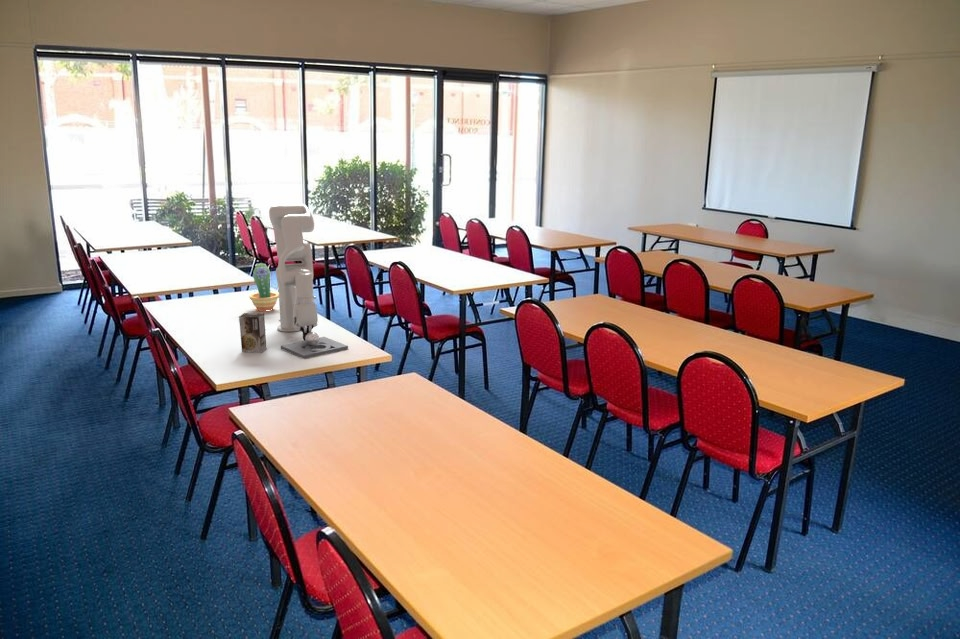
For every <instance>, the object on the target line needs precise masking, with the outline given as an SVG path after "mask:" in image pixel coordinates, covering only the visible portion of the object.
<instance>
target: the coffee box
mask: <svg viewBox="0 0 960 639" xmlns="http://www.w3.org/2000/svg"><path fill="white" fill-rule="evenodd" d="M238 320H239V321H238V322H239V331H240V334H239V335H240V344H241V346H240V347H241V353H263V352H264V351H265V350H267V337H266V325H265V313H263V312H259V313H258V312H257V313H255V312H244V313H242V314H241V315H240V316H238Z"/></svg>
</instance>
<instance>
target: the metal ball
mask: <svg viewBox="0 0 960 639" xmlns="http://www.w3.org/2000/svg"><path fill="white" fill-rule="evenodd" d="M319 336H320V335H319V334H318V333H317V332H315V331H311V332H309V333H308V334H307V335H306V337H305V341H306V343H307V344H309V345H316V344H317V343H318V341H319V338H320V337H319Z"/></svg>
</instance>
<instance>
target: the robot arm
mask: <svg viewBox="0 0 960 639" xmlns="http://www.w3.org/2000/svg"><path fill="white" fill-rule="evenodd" d="M268 214H269V215H268V216H269V220H270V223H271V225H272V227H273V230H274V234H275V243H276V244H275V245H276V247H275V248H276V253H277V258H278V263H277V264H278V265H277V267H276V269H275V278H276V282H277V288H278V294H279V298H278V302H279V319H278V322H280V325H278V326H277V330H278V331H279V332H284V333H285V332H286V333H291V332H292V333H293V332H299V331H301V332H302V339H303V340H302V341H305V337H306V335H307V334H308V333H309V332H313V329H314V328H315V327H317V326H318V323H319V322H318V317H319V316H318V311H317V305H316V303H315V302H314V301H315V300H316V299H317V296H315V295H314V281H313V280H314V266H313V253H312V246H311V244H310V242H308V241H307V240H304V236H303V233H311V232H313V231H314V229H315V221H314V216H313V215H312V213H311V211H310V209H309V207H308V206H307V205H306V204H305V203H281V204H280V203H279V204H275V205H272V206H271V207H270V208H269V211H268ZM300 261H301V263H300ZM286 262H299V263H287V264H286Z"/></svg>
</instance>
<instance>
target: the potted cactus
mask: <svg viewBox="0 0 960 639" xmlns="http://www.w3.org/2000/svg"><path fill="white" fill-rule="evenodd" d="M253 281H254V283H255V285H256V288H257V290H258V292H256V293H250V295H248V298H249V300H251V302H252V305H254V307H255V308H256V309H257V310H260V311H266V310H271V309H273V308H274V307H275V305H276V304H277V301H278V299H279V292H273V291H272V292H271V286H270V282H271V270H270V268H269V267H268V265H267V264H266V263H257V264H256V265H255V267H254V269H253ZM257 310H256V311H257Z"/></svg>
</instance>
